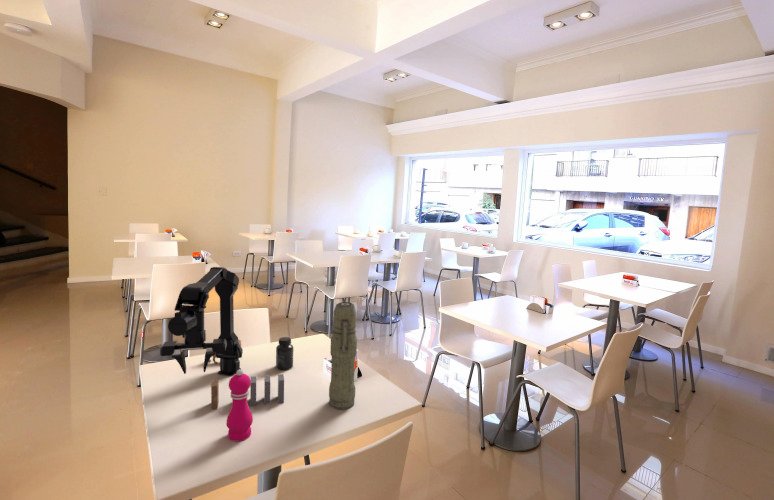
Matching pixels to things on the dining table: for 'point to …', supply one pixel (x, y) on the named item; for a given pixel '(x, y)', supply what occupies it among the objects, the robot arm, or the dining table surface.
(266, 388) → the domino
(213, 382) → the domino
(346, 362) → the thermos
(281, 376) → the domino
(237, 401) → the pepper mill
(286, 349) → the supplement bottle
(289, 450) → the dining table surface
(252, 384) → the domino
